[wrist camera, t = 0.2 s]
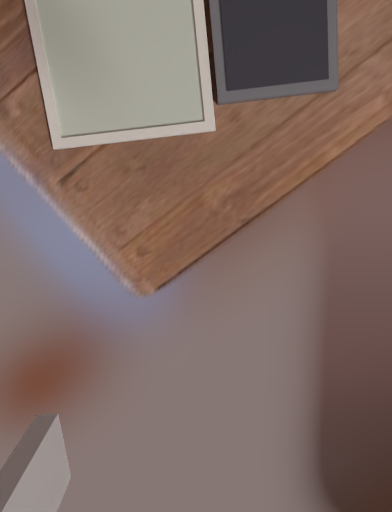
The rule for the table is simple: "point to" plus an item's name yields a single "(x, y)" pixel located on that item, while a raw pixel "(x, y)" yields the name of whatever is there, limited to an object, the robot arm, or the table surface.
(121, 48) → the marked square
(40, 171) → the table surface
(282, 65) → the ink pad
